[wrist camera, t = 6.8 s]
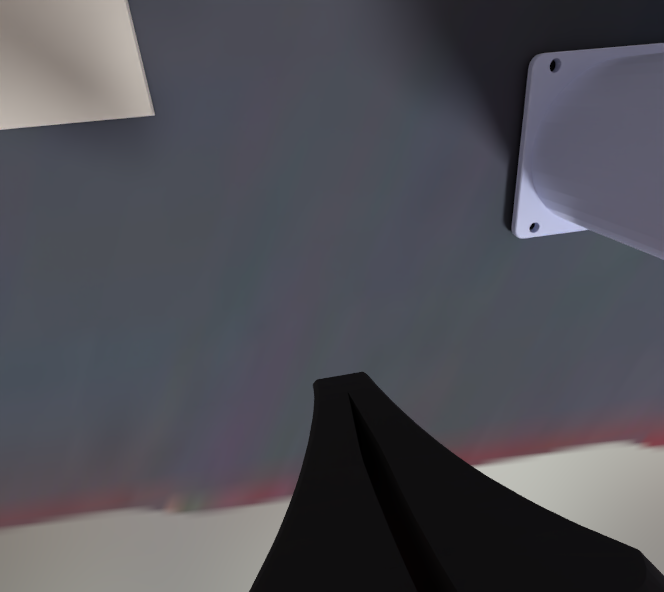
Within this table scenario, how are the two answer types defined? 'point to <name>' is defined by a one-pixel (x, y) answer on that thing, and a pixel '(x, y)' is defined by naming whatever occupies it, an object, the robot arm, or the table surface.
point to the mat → (69, 63)
